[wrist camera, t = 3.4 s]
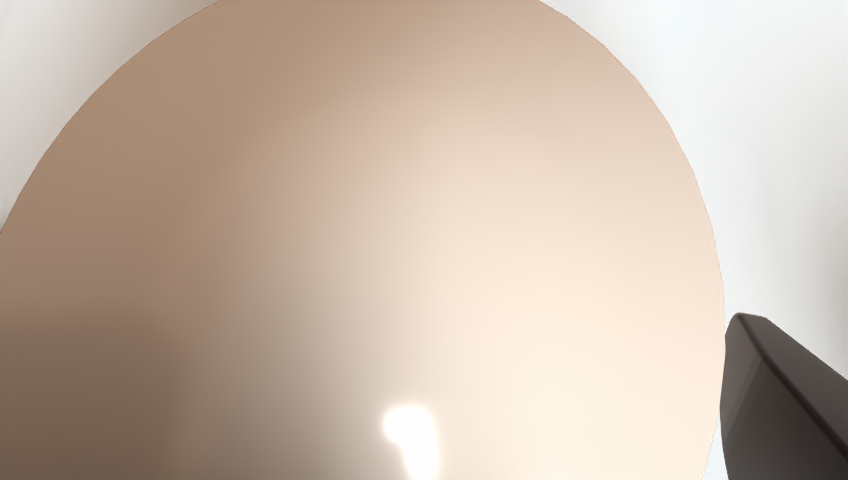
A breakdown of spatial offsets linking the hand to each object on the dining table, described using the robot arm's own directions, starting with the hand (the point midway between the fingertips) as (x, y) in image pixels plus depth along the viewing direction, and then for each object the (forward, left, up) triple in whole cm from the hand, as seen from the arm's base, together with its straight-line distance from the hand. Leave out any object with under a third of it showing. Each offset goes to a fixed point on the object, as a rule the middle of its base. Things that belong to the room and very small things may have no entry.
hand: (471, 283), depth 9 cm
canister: (-1, +1, -7) cm, 7 cm away
